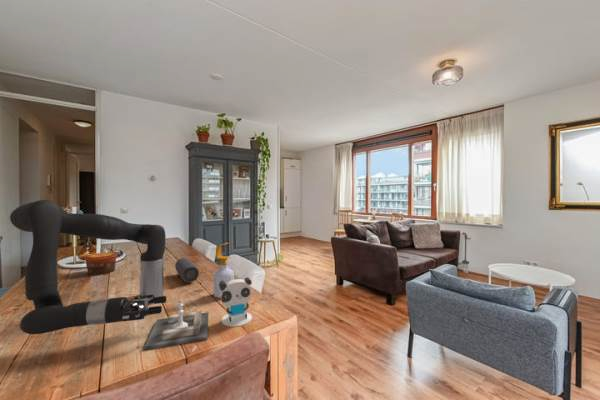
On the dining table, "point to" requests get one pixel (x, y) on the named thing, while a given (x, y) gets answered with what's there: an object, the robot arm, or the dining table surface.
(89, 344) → the dining table surface
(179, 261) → the bluetooth speaker
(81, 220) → the robot arm
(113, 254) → the food container
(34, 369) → the dining table surface
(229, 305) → the panda figurine
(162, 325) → the u rest
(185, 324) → the chess piece
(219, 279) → the soap bottle
